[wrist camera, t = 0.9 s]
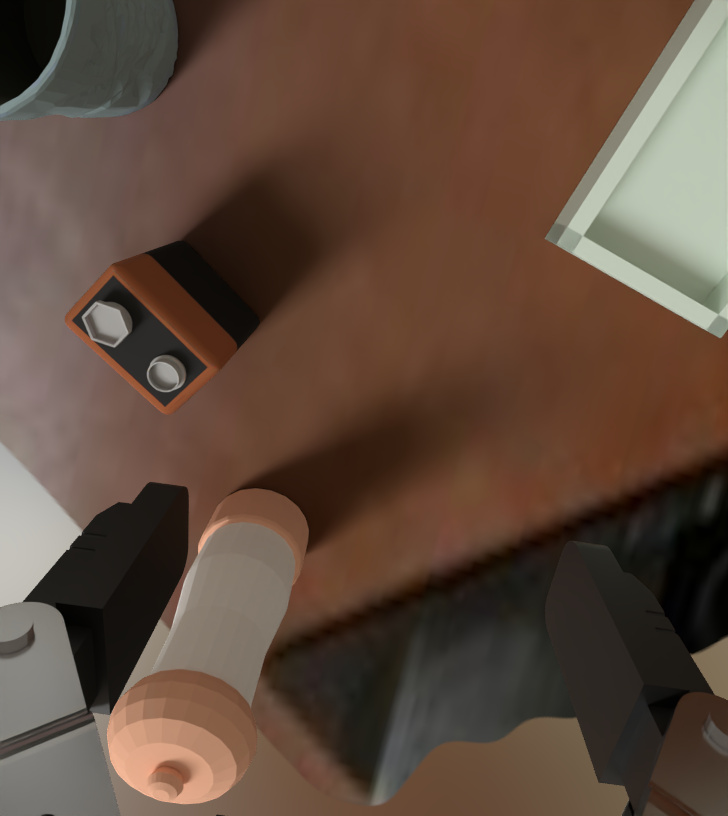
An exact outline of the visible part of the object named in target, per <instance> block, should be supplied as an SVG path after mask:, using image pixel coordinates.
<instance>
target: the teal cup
mask: <svg viewBox="0 0 728 816" xmlns="http://www.w3.org/2000/svg"><path fill="white" fill-rule="evenodd" d="M177 49H178V27H177V18H176V13H175V8H174V4H173V1H172V0H0V121H3V120H29V119H35V118H39V117H43V116H47V115H54V114H60V115H64V116H67V117H73V118H75V117H82V118H91V117H116V116H122V115H127V114H130V113H132V112H135V111H137V110H139V109H142V108H144V107H145V106H147V105H148V104H150V103H152V102H153V101H154V100H155V99H156V98H157V97H158V95H159V94H160V93H161V91H162V90H163V89H164V87H165V86H166V85H167V82H168V79H169V78H170V77H172V75H173V71H174V63H175V60H176V59H177Z"/></svg>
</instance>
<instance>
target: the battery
mask: <svg viewBox="0 0 728 816" xmlns="http://www.w3.org/2000/svg"><path fill="white" fill-rule="evenodd" d="M65 322H66V324H67V326H68V327H69V328H70V329H71V330H72V331H73V332H74V333H75V334H77V335H78V336H79V337H80V338H81V339H82V340H83V341H84V342H85V343H86V344H87V345H88V346H90V347H91V348H92V349H93V350H94V351H95V352H96V353H97V354H98V355H99V356H100V357H102V358H103V359H104V360H105V361H106V362H107V363H108V364H109V365H110V366H111V367H112V368H114V369H115V370H116V371H117V372H118V373H119V374H120V375H121V376H122V377H123V378H124V379H125V380H127V381H128V382H129V383H130V384H131V385H132V386H133V387H134V388H135V389H136V390H137V391H139V392H140V393H141V394H142V395H143V396H144V397H145V398H146V399H147V400H148V401H149V402H150V403H152V404H153V405H154V406H155V407H156V408H157V409H158V410H159V411H161V412H162V413H164V414H172V413H174V412H175V411H176V410H178V409H179V408H180V407H181V406H182V405H183V404H184V403H185V402H186V401H187V400H188V399H190V398H191V397H192V396H193V395H194V394H195V393H196V392H197V391H198V390H199V389H200V388H202V387H203V386H204V385H205V384H206V383H207V382H208V381H209V380H210V379H211V378H212V377H214V376H215V375H216V374H217V373H218V372H219V371H220V370H221V369H222V368H223V366H224V365H225V364H226V363H227V362H228V361H229V359H230V358H231V357H232V356H233V355H234V354H235V352H236V351H237V350H238V349H239V348H240V347H241V345H242V344H243V343H244V342H245V341H246V340H247V339H248V337H249V336H250V335H251V334H252V333H253V332H254V330H255V329H256V328H257V327H258V325H259V319H258V317H257V316H256V314H255V313H254V312H253V311H252V310H251V309H250V308H249V307H248V306H247V305H246V304H245V303H244V302H243V301H242V300H241V299H240V298H239V297H238V296H237V294H236V293H235V292H234V291H233V290H232V289H231V288H230V287H229V286H228V285H227V284H226V283H225V282H224V281H223V280H222V279H221V278H220V277H219V276H218V275H217V274H216V273H215V272H214V271H213V269H212V268H211V267H210V266H209V265H208V264H207V263H206V262H205V261H204V260H203V259H202V258H201V257H200V256H199V255H198V254H197V253H196V252H195V251H194V250H193V249H192V248H191V247H190V246H189V245H188V244H187V243H186V242H184V241H177V242H174V243H171V244H168V245H165V246H162V247H159V248H157V249H154V250H151V251H148V252H145V253H142V254H139V255H136V256H134V257H131V258H128V259H125V260H122V261H119V262H116V263H114V264H112V265H111V266H110V267H109V268H108V269H107V270H106V271H105V272H104V273H103V274H102V275H101V277H100V278H99V279H98V280H97V281H96V282H95V283H94V284H93V285H92V286H91V288H90V289H89V290H88V291H87V292H86V293H85V294H84V295H83V296H82V297H81V299H80V300H79V301H78V302H77V303H76V304H75V305H74V306H73V307H72V308H71V310H70V311H69V312H68V313H67V314H66V316H65Z"/></svg>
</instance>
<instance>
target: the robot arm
mask: <svg viewBox="0 0 728 816" xmlns="http://www.w3.org/2000/svg"><path fill="white" fill-rule="evenodd" d="M188 514H189V495H188V489H187V488H186V487H184V486H177V485H169V484H162V483H155V482H149V483H148V484H147V485H146V486H145V487H144V488H143V490H142V491H141V492H140V494H139V495H138V496H137V497H136V499H135V500H134V501H133V503H132V504H129V503H121V502H118V503H117V504H115V505H113V506H111V507H110V508H108V509H106V510H105V511H103V512H101V513H99V514H98V515H96V516H95V517H94V519H93V520H92V521H91V522H90V523H89V525H88V526H87V527H86V528H85V529H84V530H83V532H82V535H81V536H78V538H77V539H76V540H75V541H74V542H73V543H72V545H71V546H70V549H69V550H66V552H65V553H64V554H63V555H62V556H61V557H60V559H59V560H58V561H57V562H56V564H55V565H54V566H53V567H52V568H51V569H50V570H49V572H48V573H47V574H46V575H45V576H44V578H43V579H42V580H41V581H40V582H39V583H38V585H37V586H36V587H35V588H34V589H33V590H32V592H31V593H30V594H29V595H28V596H27V597H26V599H25V600H24V601H23V602H22V603H15V604H10V605H6V606H4V607H0V816H121V815H120V812H119V808H118V804H117V800H116V797H115V793H114V789H113V785H112V782H111V778H110V775H109V771H108V767H107V763H106V759H105V756H104V752H103V748H102V745H101V741H100V737H99V733H98V729H97V726H96V722H95V719H94V716H93V713H100V714H107V715H110V714H111V712H112V710H113V708H114V706H115V705H116V703H117V701H118V699H119V697H120V695H121V693H122V691H123V689H124V687H125V685H126V683H127V681H128V679H129V677H130V675H131V673H132V671H133V670H134V668H135V665H136V664H137V662H138V660H139V658H140V656H141V654H142V652H143V650H144V648H145V646H146V644H147V642H148V640H149V638H150V637H151V635H152V633H153V631H154V629H155V626H156V625H157V623H158V621H159V619H160V617H161V615H162V613H163V611H164V609H165V607H166V606H167V604H168V602H169V600H170V598H171V596H172V594H173V592H174V590H175V588H176V586H177V584H178V582H179V580H180V578H181V576H182V574H183V571H184V568H185V564H186V560H187V554H188ZM664 614H665V613H664V611H663V610H662V608H661V606H660V605H659V603H658V601H657V600H656V598H655V596H654V595H653V593H652V592H651V591H650V590H649V589H648V588H647V587H645V586H644V585H643V584H642V583H641V582H640V581H639V580H638V579H637V578H636V577H635V576H633V575H632V574H630V573H623V571H622V569H621V568H620V566H619V564H618V562H617V561H616V559H615V557H614V555H613V554H612V552H611V550H610V549H609V548H608V547H607V546H604V545H597V544H590V543H583V542H575V541H569V542H567V543H566V545H565V546H564V549H563V551H562V554H561V557H560V560H559V563H558V566H557V569H556V572H555V575H554V578H553V581H552V584H551V587H550V590H549V593H548V596H547V600H546V606H545V620H546V626H547V630H548V633H549V636H550V639H551V642H552V645H553V648H554V651H555V654H556V657H557V660H558V663H559V666H560V669H561V672H562V675H563V678H564V681H565V684H566V687H567V690H568V693H569V696H570V699H571V702H572V705H573V708H574V711H575V714H576V717H577V719H578V722H579V725H580V728H581V731H582V734H583V737H584V740H585V743H586V746H587V749H588V752H589V755H590V758H591V761H592V764H593V767H594V770H595V773H596V776H597V779H598V782H599V783H607V784H614V785H622V786H625V788H626V791H627V794H628V797H629V801H628V803H627V805H626V807H625V809H624V811H623V813H622V816H728V700H726V699H724V698H721V697H719V696H716V695H714V693H713V691H712V690H711V688H710V687H709V685H708V683H707V681H706V680H705V678H704V677H703V675H702V673H701V672H700V670H699V668H698V667H697V665H696V663H695V662H694V660H693V659H692V657H691V655H690V654H689V652H688V650H687V649H686V647H685V646H684V644H683V642H682V641H681V639H680V637H679V636H678V635H677V634H675V629H674V628H673V626H672V624H671V623H670V621H669V619H668V618H667V617H665V616H664ZM216 816H223V815H216Z"/></svg>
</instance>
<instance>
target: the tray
mask: <svg viewBox="0 0 728 816" xmlns="http://www.w3.org/2000/svg"><path fill="white" fill-rule="evenodd" d="M545 239H546V240H548V241H550V242H552V243H553V244H555V245H557V246H559V247H560V248H562V249H564V250H566V251H567V252H569V253H571V254H573V255H574V256H576V257H578V258H580V259H581V260H583V261H585V262H587V263H588V264H590V265H592V266H594V267H595V268H597V269H599V270H601V271H602V272H604V273H606V274H608V275H609V276H611V277H613V278H615V279H616V280H618V281H620V282H622V283H623V284H625V285H627V286H629V287H630V288H632V289H634V290H636V291H637V292H639V293H641V294H643V295H644V296H646V297H648V298H650V299H651V300H653V301H655V302H657V303H658V304H660V305H662V306H664V307H665V308H667V309H669V310H671V311H672V312H674V313H676V314H678V315H679V316H681V317H683V318H685V319H686V320H688V321H690V322H692V323H693V324H695V325H697V326H699V327H700V328H702V329H704V330H706V331H708V332H710V333H712V334H714V335H715V336H717V337H719V338H721V337H722V336H723V334H724V333H725V332H726V331H727V330H728V0H695V1H694V2H693V4H692V5H691V7H690V9H689V10H688V12H687V13H686V15H685V17H684V18H683V20H682V21H681V23H680V24H679V26H678V28H677V29H676V31H675V32H674V34H673V36H672V37H671V39H670V40H669V42H668V43H667V45H666V47H665V48H664V50H663V51H662V53H661V55H660V56H659V58H658V59H657V61H656V63H655V64H654V66H653V67H652V69H651V70H650V72H649V74H648V75H647V77H646V78H645V80H644V82H643V83H642V85H641V86H640V88H639V89H638V91H637V93H636V94H635V96H634V97H633V99H632V101H631V102H630V104H629V105H628V107H627V109H626V110H625V112H624V113H623V115H622V116H621V118H620V120H619V121H618V123H617V124H616V126H615V128H614V129H613V131H612V132H611V134H610V135H609V137H608V139H607V140H606V142H605V143H604V145H603V147H602V148H601V150H600V151H599V153H598V155H597V156H596V158H595V159H594V161H593V162H592V164H591V166H590V167H589V169H588V170H587V172H586V174H585V175H584V177H583V178H582V180H581V181H580V183H579V185H578V186H577V188H576V189H575V191H574V193H573V194H572V196H571V197H570V199H569V201H568V202H567V204H566V205H565V207H564V208H563V210H562V212H561V213H560V215H559V216H558V218H557V220H556V221H555V223H554V224H553V226H552V227H551V229H550V231H549V232H548V234H547V235H546V237H545Z"/></svg>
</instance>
